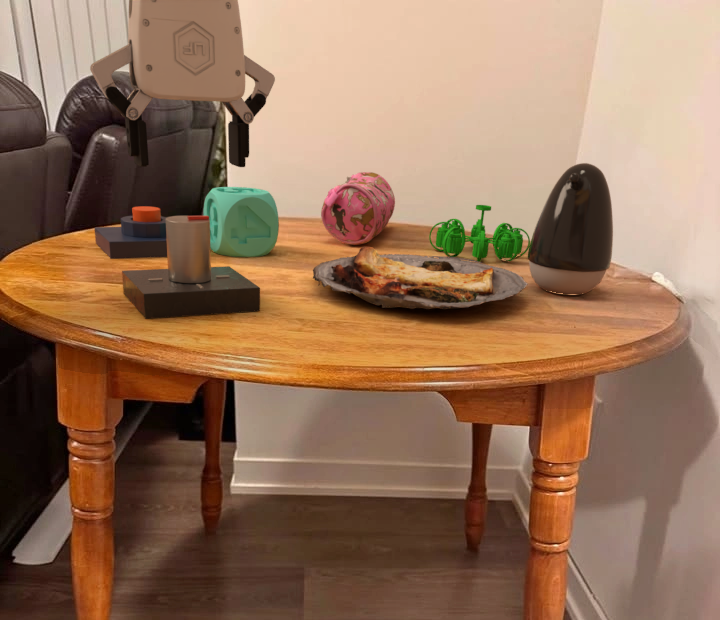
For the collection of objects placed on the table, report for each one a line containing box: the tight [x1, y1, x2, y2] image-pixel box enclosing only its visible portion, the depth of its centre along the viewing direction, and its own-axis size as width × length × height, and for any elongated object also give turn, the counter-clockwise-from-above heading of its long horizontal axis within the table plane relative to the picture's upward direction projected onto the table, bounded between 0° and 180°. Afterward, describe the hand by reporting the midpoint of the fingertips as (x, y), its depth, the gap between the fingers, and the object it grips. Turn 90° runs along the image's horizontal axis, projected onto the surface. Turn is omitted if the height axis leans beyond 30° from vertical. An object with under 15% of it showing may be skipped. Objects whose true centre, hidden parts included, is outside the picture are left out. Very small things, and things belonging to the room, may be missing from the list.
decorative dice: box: [202, 186, 280, 258], centre depth 106 cm, size 8×8×8 cm
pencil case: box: [320, 171, 396, 246], centre depth 122 cm, size 21×9×9 cm, turn 172°
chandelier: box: [428, 204, 531, 263], centre depth 116 cm, size 15×15×7 cm
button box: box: [94, 215, 168, 260], centre depth 104 cm, size 12×10×4 cm
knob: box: [166, 215, 212, 283], centre depth 80 cm, size 4×4×6 cm
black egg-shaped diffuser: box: [526, 162, 614, 295], centre depth 96 cm, size 10×10×15 cm
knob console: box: [121, 266, 261, 320], centre depth 82 cm, size 12×10×3 cm
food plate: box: [312, 246, 529, 310], centre depth 92 cm, size 25×23×4 cm
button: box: [131, 205, 162, 222], centre depth 103 cm, size 4×4×2 cm
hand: (190, 165), depth 77 cm, fingers open, 9 cm apart
